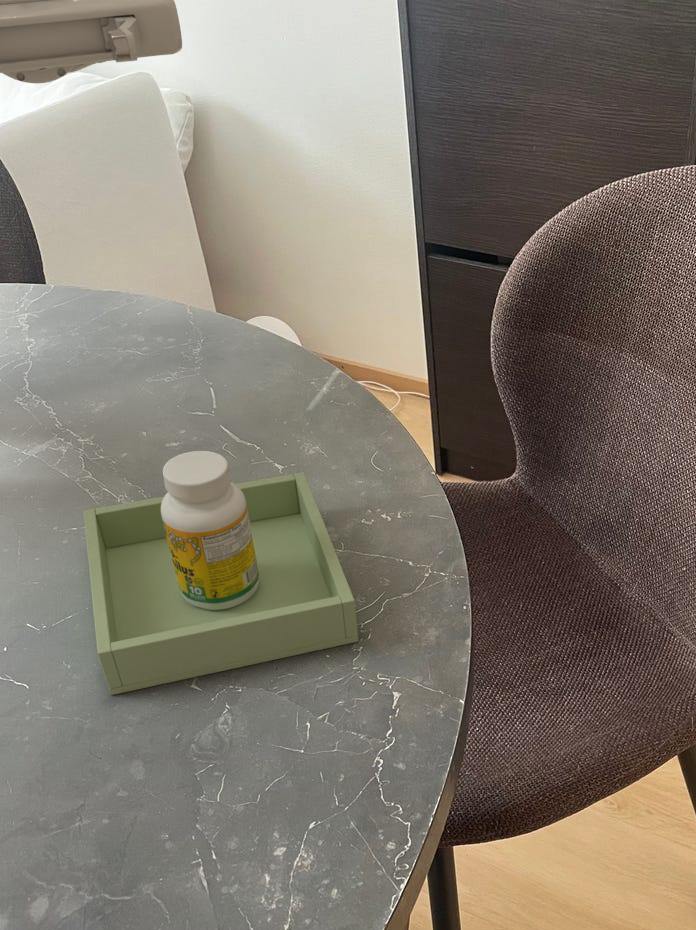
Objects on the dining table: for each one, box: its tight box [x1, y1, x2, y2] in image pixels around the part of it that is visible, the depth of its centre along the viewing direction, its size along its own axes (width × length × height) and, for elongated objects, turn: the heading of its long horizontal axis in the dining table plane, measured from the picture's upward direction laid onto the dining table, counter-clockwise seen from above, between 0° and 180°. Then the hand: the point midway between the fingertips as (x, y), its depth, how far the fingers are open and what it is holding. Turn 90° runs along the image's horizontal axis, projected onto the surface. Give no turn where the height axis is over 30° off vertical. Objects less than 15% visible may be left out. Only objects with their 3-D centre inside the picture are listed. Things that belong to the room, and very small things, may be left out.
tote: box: [82, 471, 359, 696], centre depth 70 cm, size 16×16×4 cm
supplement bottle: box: [161, 450, 259, 610], centre depth 68 cm, size 5×5×10 cm
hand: (56, 56), depth 72 cm, fingers open, 8 cm apart
